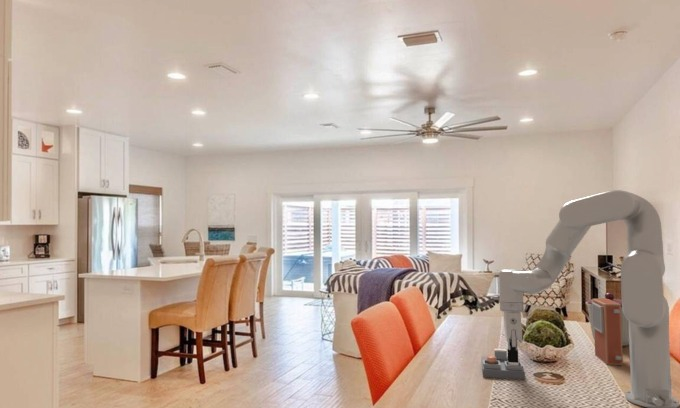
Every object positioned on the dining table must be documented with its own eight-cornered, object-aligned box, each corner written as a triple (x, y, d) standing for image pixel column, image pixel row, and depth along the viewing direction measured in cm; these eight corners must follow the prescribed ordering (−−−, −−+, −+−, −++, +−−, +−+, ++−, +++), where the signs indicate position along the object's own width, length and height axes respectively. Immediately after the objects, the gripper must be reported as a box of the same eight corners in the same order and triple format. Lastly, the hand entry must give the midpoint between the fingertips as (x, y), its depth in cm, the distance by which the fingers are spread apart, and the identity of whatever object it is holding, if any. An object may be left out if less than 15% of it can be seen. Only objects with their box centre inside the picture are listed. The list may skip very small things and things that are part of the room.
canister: (628, 339, 201) (626, 290, 202) (644, 350, 184) (642, 296, 185) (582, 337, 206) (580, 289, 207) (593, 348, 188) (591, 295, 189)
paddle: (507, 359, 165) (506, 350, 165) (494, 359, 166) (494, 350, 166) (506, 358, 167) (506, 349, 167) (494, 357, 168) (494, 348, 168)
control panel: (611, 354, 178) (626, 366, 164) (591, 354, 180) (605, 365, 165) (608, 298, 180) (624, 304, 165) (589, 297, 181) (602, 304, 166)
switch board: (524, 379, 151) (524, 367, 152) (483, 376, 155) (482, 365, 155) (519, 366, 166) (519, 355, 166) (481, 363, 169) (481, 353, 169)
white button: (519, 368, 154) (519, 363, 154) (508, 367, 155) (508, 362, 155) (518, 365, 157) (518, 360, 157) (508, 364, 158) (508, 360, 158)
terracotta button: (496, 363, 156) (496, 358, 156) (486, 362, 157) (486, 358, 157) (496, 360, 159) (496, 356, 159) (486, 360, 160) (486, 355, 160)
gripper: (526, 310, 149) (527, 369, 148) (521, 303, 163) (522, 356, 163) (501, 310, 151) (502, 367, 150) (498, 302, 165) (499, 355, 164)
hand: (513, 361), depth 156 cm, fingers closed
